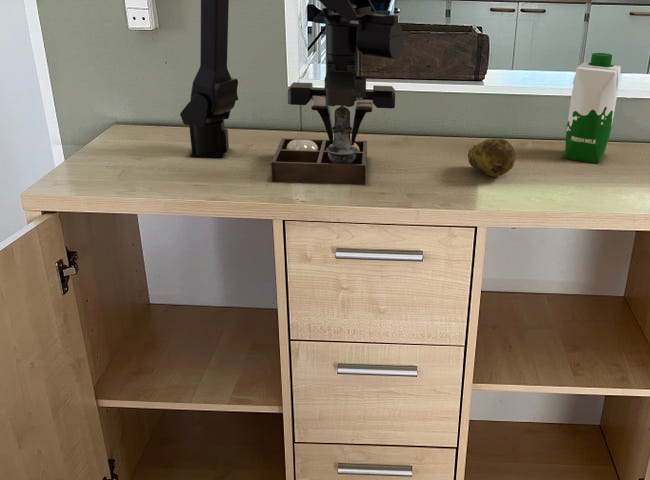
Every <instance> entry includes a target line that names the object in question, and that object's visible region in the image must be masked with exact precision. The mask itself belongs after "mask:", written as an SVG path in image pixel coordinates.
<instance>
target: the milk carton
mask: <svg viewBox="0 0 650 480" xmlns="http://www.w3.org/2000/svg"><path fill="white" fill-rule="evenodd" d="M612 61H613V54H611V53H605V52H593V53H591V58H590V62H582V63H581V64H579V65H578V66H577V67H576V69H575V74H574V77H573V82H572V91H571V95H570V96H571V97H570V103H569V109H568V117H567V122H566V131H565V147H564V159H565V160H570V161H571V160H572V161H579V162H586V163H594V164H599V163H600V161H601V160H602V158H603V157H604V155H605V151H606V148H607V145H608V143H609V140H610V137H611V132H612V126H613V121H614V115H615V111H616V104H617V99H618V94H619V93H618V92H619V85H620V79H621V70H622V66H621V65H615V64H612Z"/></svg>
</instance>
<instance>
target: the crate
mask: <svg viewBox="0 0 650 480" xmlns="http://www.w3.org/2000/svg"><path fill="white" fill-rule="evenodd" d="M292 140H310V141H313V142H314V143H315V144H316V145H317V146H318V149H319V151H315V150H286V147H287V145H288V143H289V142H291V141H292ZM333 142H334V139H333ZM354 143H356V144H357V145H358V146H359V148H360V152H357V153H356V158H355V160H354V161H353V162H352V163H350V164H334V163H333V162H332V161H331V160H330V159H329V156H328V152H327V151H326V148H327V147H329V146H330V145H331V143H330V140H329V139H317V138H290V137H289V138H285V137H282V138H281V139H280V141H279V144H278V146H277V149H276V151H275V153H274V155H273V158H272V160H271V162H270V169H271V182H273V183H274V182H275V183H302V184H303V183H307V184H339V185H366V179H367V164H368V163H367V162H368V141H367V140H355V142H354Z"/></svg>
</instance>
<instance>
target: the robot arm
mask: <svg viewBox="0 0 650 480" xmlns="http://www.w3.org/2000/svg"><path fill="white" fill-rule="evenodd" d="M318 1H319V2H320V3H321V4H322V5H323V6H324V7H323V8H321V11H320V12H319V13H318V14H317V15H316V16H315V17H314V18H313V23H315V24H322V25H325V76H324V88H315V87H314V85H313V82H299V81H298V82H295V81H293V82H292V83H291V84H290V86H289V87H288V90H287V104H288V105H291V106H306V105H307V104H309V102H311V106H310V109H311V110H312V111H316V112H317V113H318V115H319V116H320V118H321V120H322V122H323V125H324V128H325V131H326V134H327V137H328V140H330V143H331V144H333V140H334V130H333V129H332V128H333V127H334V126H333V120H332V110H331V107H336V106H338V107H341V106H344V107H345V108H351V107H352V108H353V106H355V109H354V117H353V123H352V130H351V136H350V140H351V145H354V142H355V141H356V138H357V136H358V133H359V130H360V126H361V124H362V122H363V119H364V117H365V116H366V114H367V113H372V112H373V105H374V106H375V108H377V109H395V108H396V89H395V88H394V87H393V86H392V85H373V87H372V90H367V76H366V75H360V73H359V72H360V52H361V54H362V55H363V56H364V57H370V58H379V59H388V60H398V59H399V58H400V56H401V55H402V52H403V48H404V41H405V39H404V38H405V37H404V34H403V28H402V25H401V24H400V22H399V20H400V19H399V18H400V16H399V15H398V14H394V13H392V14H379V13H377V10H376V9H375V6H374V5H373V3H372V2H371V0H318ZM229 3H230V1H229V0H200V35H199V36H200V40H199V41H200V42H199V43H200V45H199V46H200V51H199V52H200V54H199V55H200V56H199V57H200V60H199V68H198V70H197V72H196V74H195V77H194V78H193V81H192V84H191V91H190V99H189V101H188V103H186V105H185V107H184V108H183V109H182V111H180V113H179V115H180V118H181V121H182V124H183V125H185V126H188V128H189V137H190V148H191V151H190V153H189V157H193V158H194V157H195V158H196V157H197V158H224V157H225V155H226V154H227V152H228V150H229V149H230V144H229V143H230V142H229V130H228V127H226V126H225V120H229V119H230V114H231V111H232V110H233V109H234V108H235V106H236V102H237V101H239V96H238V86H239V79H238V78H233V77H232V76H231V73H230V72H229V69H228V44H229V43H228V42H229V40H228V39H229V8H230V7H229V6H230V5H229Z"/></svg>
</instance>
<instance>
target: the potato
mask: <svg viewBox="0 0 650 480" xmlns="http://www.w3.org/2000/svg"><path fill="white" fill-rule="evenodd" d="M516 156H517V155H516V151H515V149H514V147H513V145H512V144H511V143H510V142H509V140H506V139H503V138H499V137H498V138H497V137H489V138H487V139H485V140H483V141H481V142H478V143H477V144H475V145H473V146H471V148H470V149H469V150H468V152H467V161H468V163H469V165H470V166H471V167H472V168H473V169H474V170H477V171H479V172H480V173H482V174H483V175H486V176H488V177H494V178H495V177H500V176H503V175H505V174H507V173H508V172H509V171H511V170H512V169H513V167H514V166H515V163H516V159H517V158H516Z"/></svg>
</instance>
